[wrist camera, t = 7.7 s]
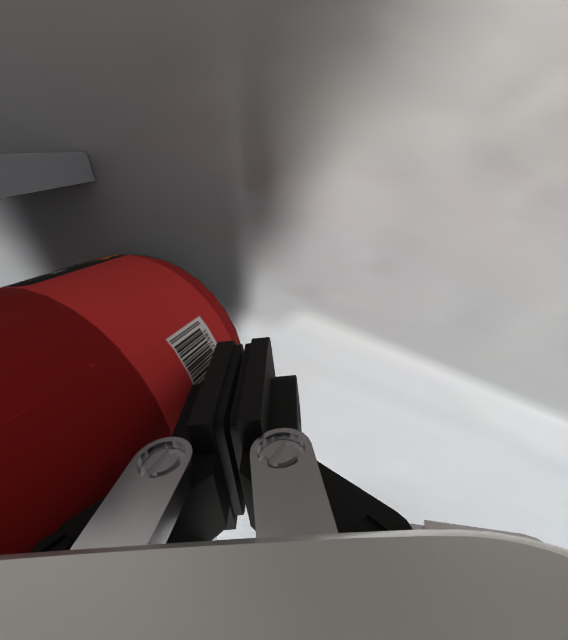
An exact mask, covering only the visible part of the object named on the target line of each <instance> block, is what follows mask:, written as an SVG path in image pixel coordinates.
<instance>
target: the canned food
mask: <svg viewBox="0 0 568 640" xmlns="http://www.w3.org/2000/svg"><path fill="white" fill-rule="evenodd" d="M233 340H235V341H236V343H237V345H238V344H241V343H240V340H239V338H238V335H237V332H236V329H235V327H234V325H233V323H232V322H231V320H230V318H229V316H228V314H227V312H226V311H225V309H224V308H223V307H222V306H221V304H220V303H219V302H218V300H217V299H216V298H215V296H214V295H213V294H212V293H211V292H210V291H209V290H208V289H207V288H206V287H205V286H204V285H203V284H202V283H201V282H200V281H199V280H197V279H196V278H194V277H193V276H192V275H190V274H189V273H187V272H186V271H184V270H183V269H181V268H179V267H177V266H175V265H173V264H171V263H169V262H167V261H164V260H160V259H156V258H152V257H148V256H138V255H111V256H107V257H103V258H99V259H95V260H92V261H89V262H85V263H82V264H78V265H75V266H72V267H68V268H65V269H62V270H58V271H55V272H52V273H48V274H45V275H41V276H38V277H35V278H31V279H28V280H25V281H21V282H18V283H15V284H11V285H8V286H4V287H1V288H0V555H6V554H20V553H30V552H31V550H32V549H33V548H34V547H35V546H36V544H37V543H39V542H40V541H41V540H42V539H44V538H45V537H47V536H49V535H51V534H54V533H55V532H56V531H57V530H58V529H59V527H60V526H61V525H62V524H63V523H64V522H66V521H67V520H69V519H71V518H72V517H74V516H75V515H77V514H78V513H80V512H81V511H83V510H84V509H86V508H88V507H89V506H91V505H92V504H94V503H95V502H97V501H98V500H100V499H102V498H103V497H105V496H106V495H108V493H109V492H110V490H111V489H112V488H113V486H114V485H115V483H116V482H117V480H118V479H119V477H120V476H121V475H122V473H123V472H124V470H125V469H126V467H127V466H128V464H129V463H130V462H131V460H132V459H133V457H134V456H135V455H136V454H137V453H138V452H139V450H141V449H142V448H143V447H145V446H146V445H147V444H149V443H151V442H153V441H155V440H158V439H162V438H165V437H171V436H172V434H173V431H174V429H175V426H176V424H177V421H178V419H179V416H180V414H181V411H182V409H183V407H184V404H185V402H186V399H187V397H188V394H189V392H190V389H191V387H192V385H194V384H200V383H202V382H203V380H204V377H205V374H206V371H207V369H208V366H209V363H210V361H211V358H212V355H213V352H214V350H215V347H216V344H217V342H223V341H233Z"/></svg>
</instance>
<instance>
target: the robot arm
mask: <svg viewBox="0 0 568 640" xmlns="http://www.w3.org/2000/svg"><path fill="white" fill-rule="evenodd" d="M245 505H246V508H247V512H248V515H249V520H250V525H251V527H252V528H253V529H254V530H255V531H256V538H247V539H230V540H217V537H216V536H218V535H219V534H220V533H221V532H222V531H223V530H231V529H236V523H237V516H238V515H243V514H244V512H245ZM0 640H568V550H567V549H564V548H562V547H558V546H554V545H551V544H547V543H544V542H542V541H540V540H539V539H537V538H534V537H531V536H527V535H524V534H519V533H512V532H505V531H498V530H491V529H484V528H477V527H470V526H463V525H456V524H449V523H442V522H435V521H428V520H424V526H423V525H416V524H409V523H408V521H407V520H406V519H405V518H404V517H402V516H401V515H400V514H399V513H398V512H396V511H395V510H393V509H392V508H390V507H388V506H387V505H385V504H384V503H382V502H381V501H379V500H377V499H376V498H374V497H373V496H371V495H370V494H368V493H366V492H365V491H363V490H362V489H360V488H359V487H357V486H356V485H354V484H352V483H351V482H349V481H348V480H346V479H345V478H343V477H341V476H340V475H338V474H337V473H335V472H334V471H332V470H330V469H329V468H327V467H326V466H324V465H323V464H321V463H320V462H318V461H317V460H316V457H315V453H314V450H313V447H312V443H311V441H310V440H309V438H308V437H307V436H306V435H305V434H304V433H303V432H301V416H300V404H299V394H298V385H297V377H296V375H292V376H280V377H275V370H274V363H273V355H272V348H271V341H270V338H269V337H265V338H255V339H252V341H251V343H249V344H246V345H245V349H243V345H242V344H238V345H237V343H236V341H235V340H233V341H223V342H217V344H216V347H215V350H214V352H213V355H212V358H211V361H210V363H209V366H208V369H207V371H206V374H205V377H204V380H203V382H202V383H200V384H194V385H192V387H191V389H190V392H189V394H188V397H187V399H186V402H185V404H184V407H183V409H182V411H181V414H180V416H179V419H178V421H177V424H176V426H175V429H174V431H173V434H172V436H171V437H165V438H162V439H158V440H155V441H153V442H151V443H149V444H147V445H146V446H145V447H143V448H142V449H141V450H139V452H138V453H137V454H136V455H135V456H134V457H133V459H132V460H131V462H130V463H129V464H128V466H127V467H126V469H125V470H124V472H123V473H122V475H121V476H120V477H119V479H118V480H117V482H116V483H115V485H114V486H113V488H112V489H111V490H110V492H109V493H108V495H106V496H105V497H103V498H102V499H100V500H98V501H97V502H95V503H94V504H92V505H91V506H89V507H88V508H86V509H84V510H83V511H81V512H80V513H78V514H77V515H75V516H74V517H72V518H71V519H69V520H67V521H66V522H64V523H63V524H62V525H61V526H60V527H59V529H58V530H57V531H56V532H55V533H54V534H51V535H49V536H47V537H45V538H44V539H42V540H41V541H40V542H39V543H37V544H36V546H35V547H34V548H33V549H32V550H31V552H30V553H20V554H6V555H0Z"/></svg>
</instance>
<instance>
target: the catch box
mask: <svg viewBox="0 0 568 640" xmlns="http://www.w3.org/2000/svg"><path fill="white" fill-rule="evenodd" d="M92 181H95V178H94V174H93V171H92V168H91V165H90V162H89V159H88V156H87V153H86V151H81V152H40V153H0V198H5V197H11V196H16V195H21V194H27V193H32V192H38V191H43V190H49V189H54V188H60V187H65V186H70V185H76V184H81V183H87V182H92Z"/></svg>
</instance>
